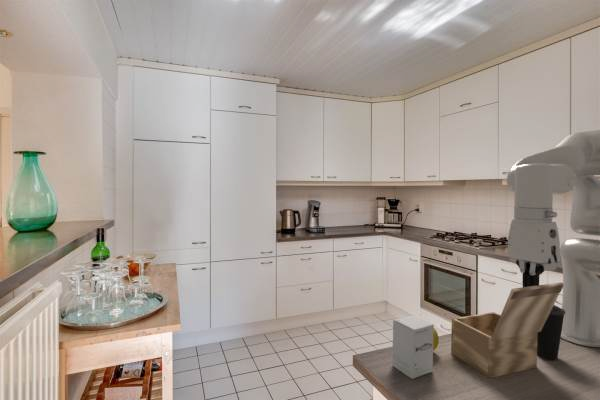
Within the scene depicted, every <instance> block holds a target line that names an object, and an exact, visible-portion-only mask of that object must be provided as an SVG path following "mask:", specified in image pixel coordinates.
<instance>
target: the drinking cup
mask: <svg viewBox="0 0 600 400" xmlns="http://www.w3.org/2000/svg"><path fill="white" fill-rule="evenodd" d="M565 313H566V312H565V310H563V309H562V307H559V306H557V305H555V304H554V305H553V307H552V310H551V312H550V314H549V316H548V318H547V320H546V322H545V324H544V326H543V328H542V330H541V332H538V336H537V357H539V358H540V359H544V360H548V361H557V360H558V358H559V350H560V344H561V339H562V338H561V332H562V325H563V318H564V315H565Z"/></svg>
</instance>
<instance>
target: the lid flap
mask: <svg viewBox="0 0 600 400" xmlns="http://www.w3.org/2000/svg"><path fill="white" fill-rule="evenodd" d="M563 285H564V284H563V281H562V282H554V283H546V284H539V285H537V286H529V287H523V286H522V287H515V288H511V290H510V292H509V295H508V297H507V300H506V302H505V304H504V306H503V309H502V311H501V314H500V315H501V316H500V318H499V321H498V323H497V325H496V328H495V330H494V333H493V335H492V337H491V339H492V340H493V341H494V340H499V339H504V338H509V337H515V336H520V335H525V334H530V333H535V332H541V330H542V328H543V326H544V324H545V322H546V320H547V318H548V316H549V314H550V312H551V310H552V307H553V305H555V303H556V301H557V299H558V297H559V294H560V293H561V292H562V291H563Z"/></svg>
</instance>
